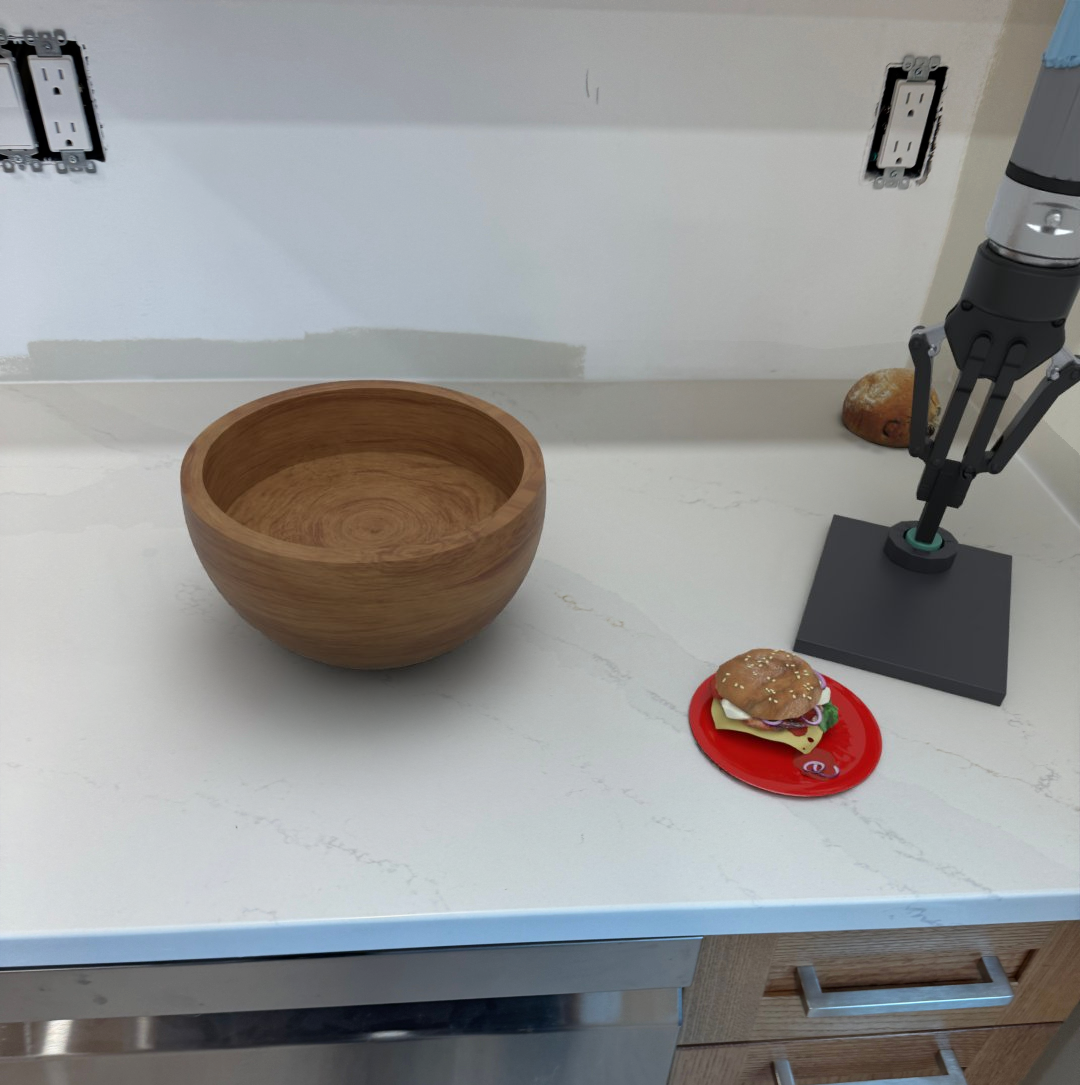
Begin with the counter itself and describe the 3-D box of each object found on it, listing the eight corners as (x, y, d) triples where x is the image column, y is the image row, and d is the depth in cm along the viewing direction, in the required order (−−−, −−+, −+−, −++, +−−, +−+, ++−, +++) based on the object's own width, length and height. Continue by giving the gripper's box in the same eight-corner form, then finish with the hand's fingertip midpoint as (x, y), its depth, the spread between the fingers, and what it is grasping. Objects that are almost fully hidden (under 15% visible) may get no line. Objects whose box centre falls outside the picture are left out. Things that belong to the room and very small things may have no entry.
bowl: (476, 778, 65) (476, 602, 55) (153, 694, 70) (95, 516, 59) (574, 576, 83) (588, 412, 72) (310, 518, 87) (287, 356, 76)
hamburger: (667, 765, 67) (680, 703, 63) (711, 647, 76) (725, 586, 72) (869, 824, 64) (896, 763, 60) (889, 693, 73) (914, 633, 69)
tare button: (937, 546, 85) (943, 531, 84) (935, 564, 83) (941, 549, 82) (903, 538, 86) (909, 523, 85) (900, 555, 84) (905, 541, 83)
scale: (1006, 568, 86) (1019, 540, 84) (999, 707, 73) (1015, 678, 71) (829, 526, 90) (838, 498, 88) (792, 651, 77) (800, 622, 74)
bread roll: (900, 438, 111) (903, 365, 108) (962, 441, 102) (967, 361, 99) (826, 447, 108) (827, 373, 106) (883, 452, 99) (885, 370, 96)
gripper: (936, 248, 66) (843, 537, 82) (1139, 282, 63) (1000, 575, 79) (944, 217, 71) (855, 496, 87) (1132, 248, 68) (1003, 530, 85)
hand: (924, 533), depth 83 cm, fingers closed
